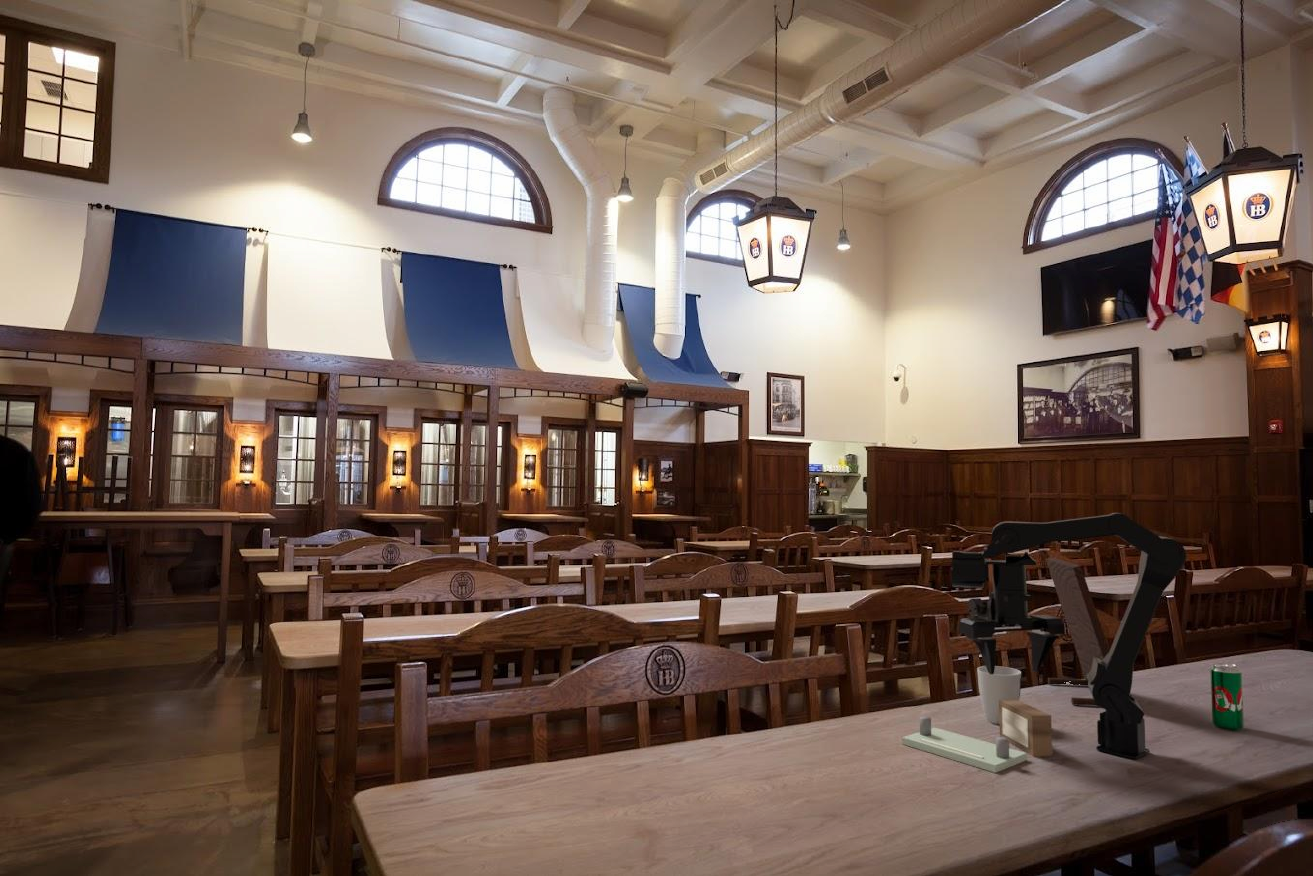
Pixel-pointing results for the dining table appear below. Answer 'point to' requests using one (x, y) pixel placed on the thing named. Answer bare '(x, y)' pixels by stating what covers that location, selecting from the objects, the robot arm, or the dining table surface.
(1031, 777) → the dining table surface
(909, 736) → the ledge board
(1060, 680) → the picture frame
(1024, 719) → the brown wooden block
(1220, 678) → the soda can
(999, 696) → the cup
